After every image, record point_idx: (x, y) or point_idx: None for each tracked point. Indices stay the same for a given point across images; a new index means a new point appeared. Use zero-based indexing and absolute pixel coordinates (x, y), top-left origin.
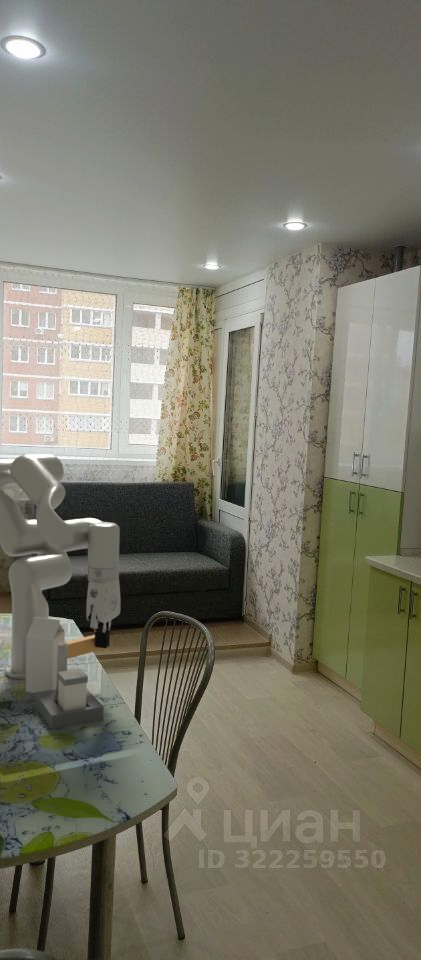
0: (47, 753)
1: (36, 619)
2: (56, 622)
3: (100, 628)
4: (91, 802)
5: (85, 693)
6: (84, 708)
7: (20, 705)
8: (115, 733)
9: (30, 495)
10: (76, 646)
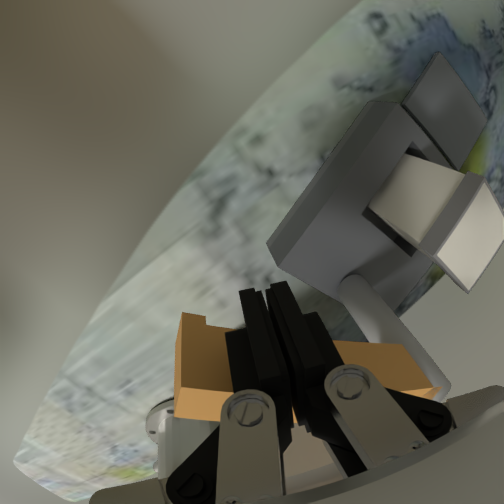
0: (495, 147)
1: None
2: None
3: (415, 401)
4: None
5: (441, 166)
6: (427, 150)
7: (356, 332)
8: (395, 48)
9: None
10: (388, 375)
